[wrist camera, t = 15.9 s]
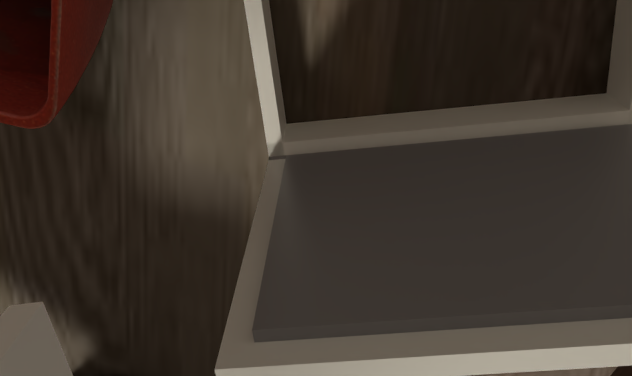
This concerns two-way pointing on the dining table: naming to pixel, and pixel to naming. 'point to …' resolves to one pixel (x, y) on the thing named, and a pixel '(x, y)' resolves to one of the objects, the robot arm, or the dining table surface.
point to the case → (439, 235)
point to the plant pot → (45, 55)
